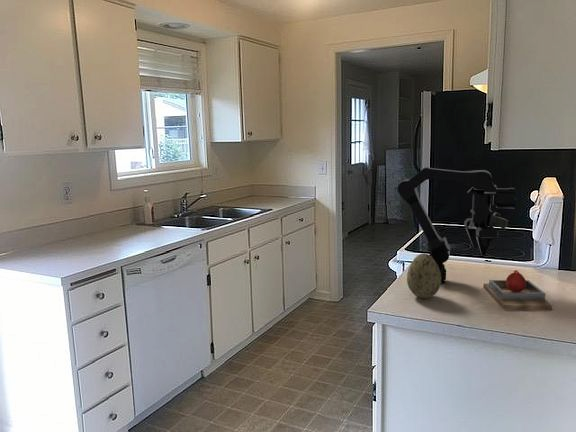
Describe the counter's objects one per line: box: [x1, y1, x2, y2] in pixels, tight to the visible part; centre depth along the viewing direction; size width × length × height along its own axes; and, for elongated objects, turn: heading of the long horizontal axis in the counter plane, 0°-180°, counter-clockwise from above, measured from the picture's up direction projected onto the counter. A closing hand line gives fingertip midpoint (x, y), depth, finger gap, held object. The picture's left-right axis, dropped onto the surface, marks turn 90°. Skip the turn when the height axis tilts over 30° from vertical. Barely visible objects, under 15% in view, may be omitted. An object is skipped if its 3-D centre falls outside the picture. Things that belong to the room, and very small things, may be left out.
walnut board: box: [482, 283, 553, 311], centre depth 151 cm, size 14×20×2 cm
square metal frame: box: [488, 279, 546, 301], centre depth 151 cm, size 13×13×2 cm
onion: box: [505, 269, 526, 292], centre depth 150 cm, size 6×6×8 cm
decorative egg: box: [406, 252, 442, 299], centre depth 153 cm, size 11×11×15 cm
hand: (479, 251), depth 163 cm, fingers open, 9 cm apart
